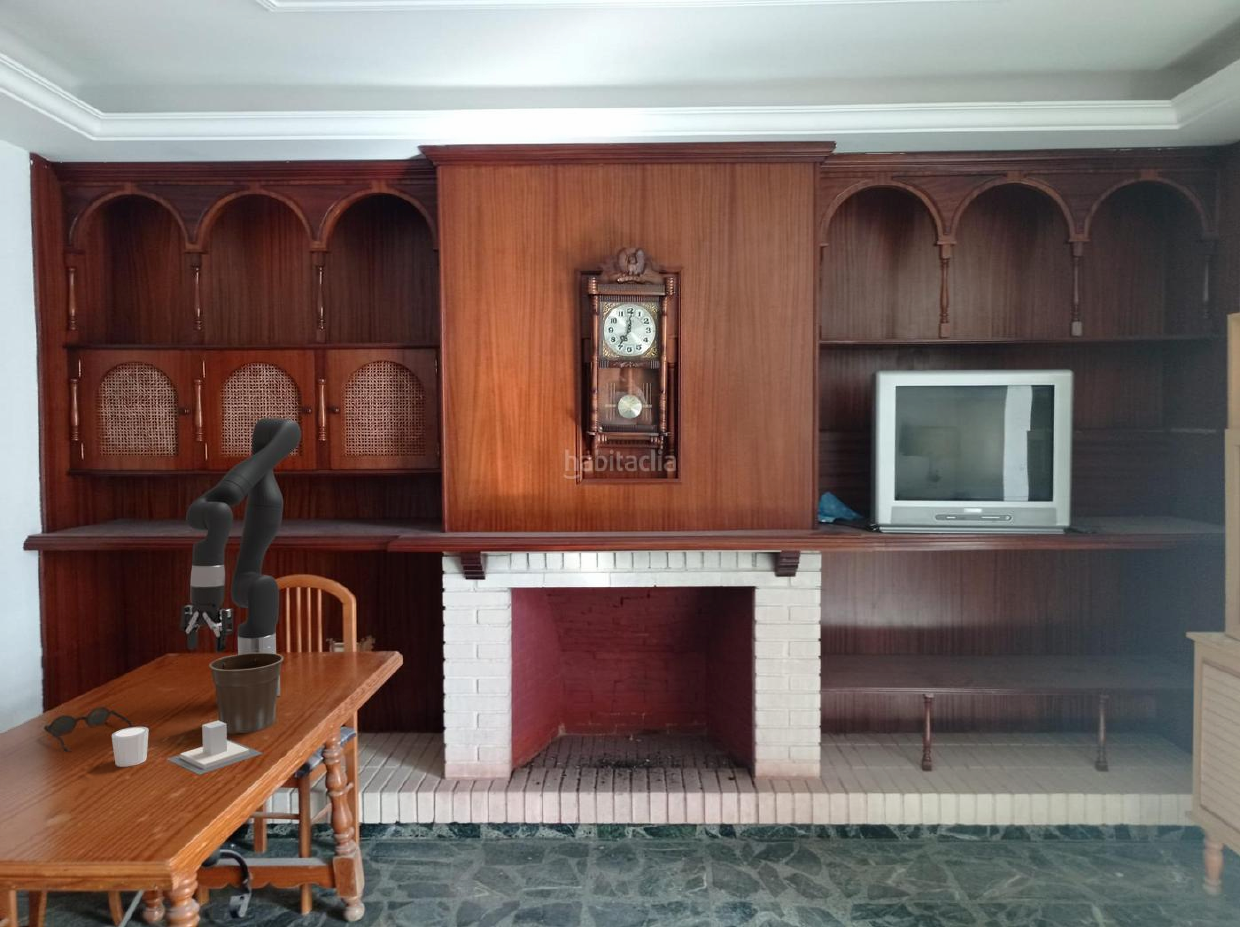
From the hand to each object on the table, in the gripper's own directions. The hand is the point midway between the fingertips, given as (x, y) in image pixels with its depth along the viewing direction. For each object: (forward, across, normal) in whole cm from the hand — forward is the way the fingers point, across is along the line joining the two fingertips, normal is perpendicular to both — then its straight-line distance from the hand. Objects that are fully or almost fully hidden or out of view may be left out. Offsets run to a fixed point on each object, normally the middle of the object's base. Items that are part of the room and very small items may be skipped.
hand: (206, 649), depth 203 cm
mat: (+19, -20, +16) cm, 32 cm away
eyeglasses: (+20, +19, +15) cm, 31 cm away
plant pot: (+18, -12, -2) cm, 22 cm away
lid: (+18, -20, +16) cm, 31 cm away
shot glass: (+20, -5, +24) cm, 31 cm away
